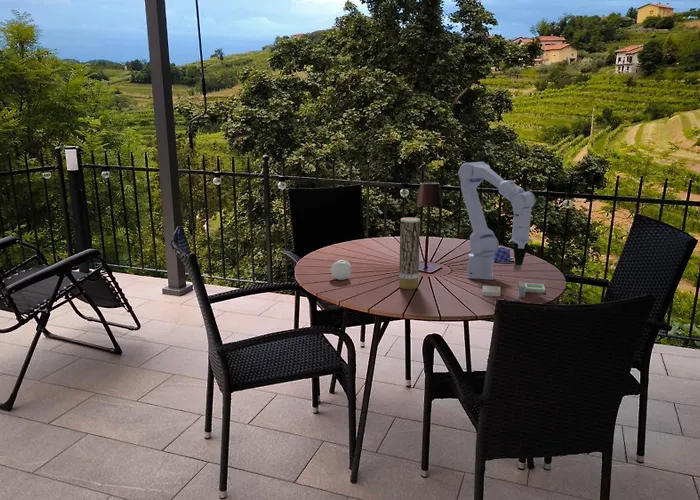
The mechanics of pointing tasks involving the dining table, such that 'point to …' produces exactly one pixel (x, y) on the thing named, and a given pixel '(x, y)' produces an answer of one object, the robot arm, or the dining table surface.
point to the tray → (534, 287)
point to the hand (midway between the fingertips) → (518, 263)
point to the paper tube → (409, 253)
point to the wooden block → (521, 289)
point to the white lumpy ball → (341, 269)
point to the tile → (491, 291)
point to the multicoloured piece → (502, 255)
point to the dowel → (517, 267)
